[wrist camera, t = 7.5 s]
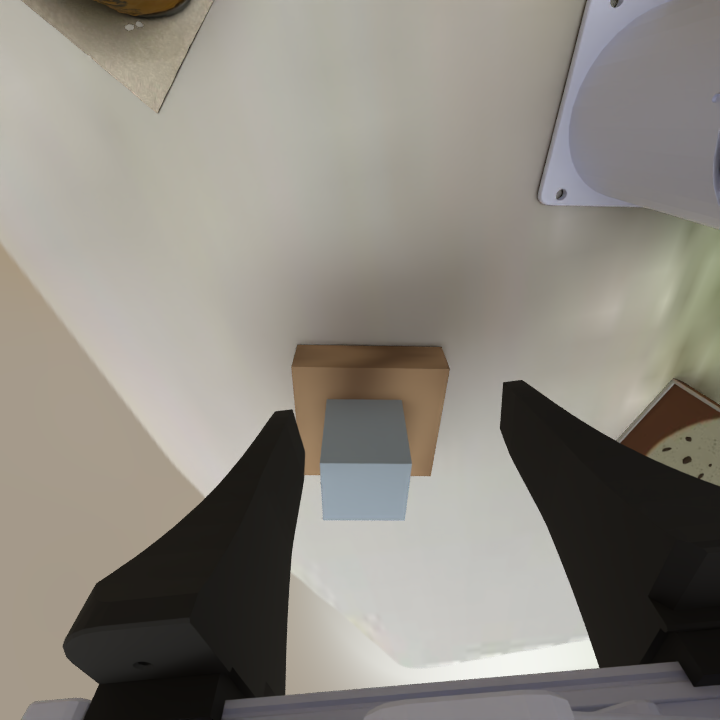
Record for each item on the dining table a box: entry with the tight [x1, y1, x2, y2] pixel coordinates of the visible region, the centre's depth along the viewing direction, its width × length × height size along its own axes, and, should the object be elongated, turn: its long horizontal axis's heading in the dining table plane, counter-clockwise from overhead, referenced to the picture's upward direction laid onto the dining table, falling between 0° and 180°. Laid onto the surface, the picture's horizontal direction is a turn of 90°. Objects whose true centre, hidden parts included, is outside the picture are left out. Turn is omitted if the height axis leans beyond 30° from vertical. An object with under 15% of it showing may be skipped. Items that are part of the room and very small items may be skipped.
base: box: [291, 345, 450, 476], centre depth 25 cm, size 9×9×2 cm
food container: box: [616, 378, 720, 486], centre depth 24 cm, size 12×6×10 cm, turn 163°
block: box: [320, 399, 412, 520], centre depth 22 cm, size 4×4×5 cm
